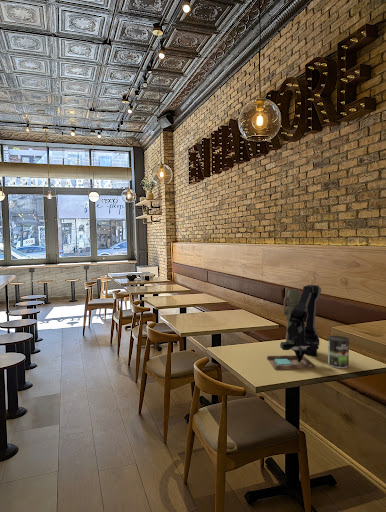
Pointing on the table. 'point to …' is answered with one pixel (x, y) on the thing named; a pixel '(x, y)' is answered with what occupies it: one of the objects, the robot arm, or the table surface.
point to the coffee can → (338, 351)
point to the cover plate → (282, 362)
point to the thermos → (291, 306)
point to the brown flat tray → (293, 359)
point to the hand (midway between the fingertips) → (299, 361)
